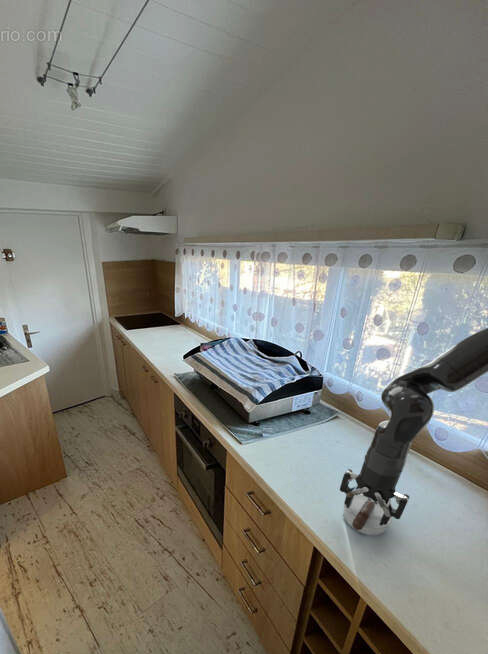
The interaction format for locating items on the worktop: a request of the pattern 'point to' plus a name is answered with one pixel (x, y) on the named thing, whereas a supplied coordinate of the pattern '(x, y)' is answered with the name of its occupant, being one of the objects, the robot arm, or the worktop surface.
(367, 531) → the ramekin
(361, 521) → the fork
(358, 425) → the worktop surface
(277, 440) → the worktop surface
